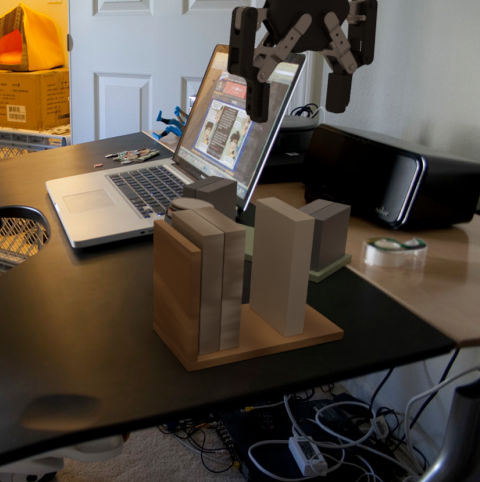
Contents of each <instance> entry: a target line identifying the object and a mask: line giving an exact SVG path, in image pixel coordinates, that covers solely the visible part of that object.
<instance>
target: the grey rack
mask: <svg viewBox="0 0 480 482" xmlns="http://www.w3.org/2000/svg"><path fill="white" fill-rule="evenodd" d="M237 196H238V180H236V179H230V178H227V177H226V178H225V177H222V176H217V175H210V176H208V177H205V178H202V179H199V180H195V181H193V182H191V183H187V184H185V185H183V186H182V198H194V199H199V200H203V201H206V202H209V203H211V204H212V205H213V206H214V209H216V210H217V211H219V212H220V213H222V214H223V215H225V216H226V217H228V218H230V219H231V220H233V221H234V222H236V215H237V214H236V213H237V198H238V197H237ZM297 209H298V210H300V211H302V212H304V213H306V214H308V215H310V216H312V217H313V218H315V223H314V233H313V242H312V251H311V261H310V270H309V279H308V281H310V282H313V283H317V284H318V283H320V282H322V281H323V280H324V279H326V278H327V277H329V276H331V275H333V274H334V273H335V272H337V271H339V270H340V269H343V268H344V267H345V266H346V265H348V264H349V263H351V262H352V258H353V255H352V254H350V253H347V252H346V249H347V241H348V233H349V225H350V217H351V209H352V205H347V204H343V203H339V202H334V201H330V200H325V199H321V198H318V199H315V200H313V201H312V202H309V203H307V204H305V205H303V206H301V207H299V208H297ZM236 223H237V224H239V225H240V226H242V227H243V228H245V229H246V241H245V257H244V261H248V262H250V263H252V256H253V241H254V227H253V226H249V225H245V224H241V223H238V222H236Z"/></svg>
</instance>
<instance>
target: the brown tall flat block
mask: <svg viewBox="0 0 480 482" xmlns="http://www.w3.org/2000/svg"><path fill="white" fill-rule="evenodd" d="M298 209H299V208H296V207H294V206H292V205H290V204H289V203H287V202H285V201H283V200H281V199H279V198H277V197H275V196H271V197H263V198H257V199H256V200H255V215H254V227H253V228H254V241H253V256H252V262H251V270H250V287H249V300H248V303H249V307H250V308H251V309H252V310H253V311H254V312H256V313H257V314H258V315H259V316H260V317H261V318H263V319H264V320H265V321H266V322H267V323H269V324H270V325H271V326H272V327H273V328H274V329H276V330H277V331H278V332H279V333H280V334H281V335H283V336H284V337H289V336H294V335H299V334H303V326H304V317H305V308H306V304H307V297H308V287H309V280H308V279H309V270H310V261H311V251H312V242H313V233H314V223H315V218H313V217H312V216H310V215H308V214H306V213H304V212H302V211H300V210H298Z"/></svg>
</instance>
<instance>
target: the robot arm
mask: <svg viewBox="0 0 480 482" xmlns="http://www.w3.org/2000/svg"><path fill="white" fill-rule="evenodd" d="M378 7H379V2H378V0H351V1H349V0H265V2H264V4H263V5H262V7H255V6H248V5H247V6H245V5H242V6H240V5H239V6H235V7H234V8H233V9H232V11H231V20H230V29H229V42H228V43H229V44H228V52H227V63H226V71H227V73H228V75H229V74H230V75H232V76H236V77H240V78H242V79H244V81H245V83H246V87H245V89H246V90H245V109H244V110H245V113H246V116H249V120H250V121H251V122H253V123H256V124H264V123H265V124H266V123H268V121H269V114H270V113H269V112H270V110H269V109H270V96H271V82H267V81H268V80H269V79H270V77H271V76H272V74H273V73H274V71H275V70H276V68H277V67H278V66H279V65H280V64H282V63H284V61H286V59H287V58H288V56H289V54H293V55H295V54H296V55H297V54H302V53H305V52H315V53H318V54H320V55H321V56H322V57H323V58H324V60H325V62H326V63H327V65H328V67H329V69H330V70H331V72H328V73H327V83H326V84H327V85H326V93H325V94H326V95H325V106H324V108H325V111H326V112H328V113H332V114H337V115H339V114H344V113H345V112H346V110H347V107H349V104H350V102H351V94H352V85H353V76H354V73H355V72H356V71H357V70H358V69H359V68H361V67H364V66H370V65H372V63H373V62H374V61H375V49H376V38H377V37H376V35H377V21H378V9H379V8H378ZM345 21H347V22H346V23H347V36H346V34H345V33H344V31H343V28H342V26H343V24H344V23H345ZM262 24H263V26H264V28H265V29H266V33H265V34H264V36H263V37H262V39H261V40H260V41H259V43H258V45H257V46H256V37H257V32H259V30H260V29H261V27H262ZM255 46H256V48H255Z"/></svg>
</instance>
